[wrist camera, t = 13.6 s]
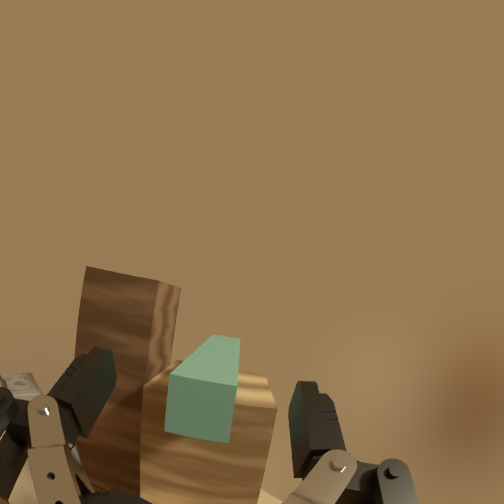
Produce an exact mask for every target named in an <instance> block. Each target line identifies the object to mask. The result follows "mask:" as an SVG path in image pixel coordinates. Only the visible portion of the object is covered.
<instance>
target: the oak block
mask: <svg viewBox="0 0 504 504" xmlns="http://www.w3.org/2000/svg"><path fill="white" fill-rule="evenodd" d="M182 362H183V361H180V360H176V361H175V362H174V363H172V364H171V365H170V366H168V367H167V368H166V369H164V370H163V371H162V372H161V373H159V374H158V375H157V376H155V377H154V378H153V379H151V380H150V381H149V382H147V383H146V384H145V385H144V387H143V400H142V416H141V438H140V497H141V498H143V499H145V500H147V501H149V502H151V503H153V504H257V501H258V497H259V493H260V489H261V484H262V480H263V476H264V471H265V467H266V462H267V458H268V453H269V448H270V443H271V438H272V433H273V428H274V423H275V418H276V413H277V407H276V404H275V401H274V398H273V395H272V393H271V390H270V387H269V385H268V382H267V379H266V376H265V374H259V373H251V372H244V371H238V385H237V392H236V399H235V405H234V412H233V418H232V425H231V431H230V438H229V443H222V442H215V441H209V440H204V439H198V438H193V437H188V436H183V435H179V434H174V433H170V432H166V431H164V428H165V416H166V404H167V394H168V384H169V375H170V373H171V372H172V371H173V370H174V369H176V368H177V367H178V366H179V365H180V364H181V363H182Z"/></svg>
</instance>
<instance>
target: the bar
mask: <svg viewBox="0 0 504 504" xmlns="http://www.w3.org/2000/svg"><path fill="white" fill-rule="evenodd" d="M239 351H240V339H238V338H232V337H225V336H219V335H212V336H211V337H210V338H209V339H208V340H207V341H206V342H205V343H203V344H202V345H201V346H200V347H199V348H198V349H197V350H196V351H195V352H193V353H192V354H191V355H190V356H189V357H188V358H187V359H186V360H185V361H183V362H182V363H181V364H180V365H179V366H178V367H177V368H176V369H174V370H173V371H172V372H171V373H170V375H169V384H168V394H167V404H166V416H165V428H164V431H166V432H170V433H174V434H179V435H183V436H188V437H193V438H198V439H204V440H209V441H215V442H222V443H229V438H230V431H231V425H232V418H233V412H234V405H235V399H236V392H237V385H238V367H239Z"/></svg>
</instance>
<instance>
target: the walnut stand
mask: <svg viewBox="0 0 504 504" xmlns="http://www.w3.org/2000/svg"><path fill="white" fill-rule="evenodd" d="M180 290H181V288H179V287H176V286H173V285H170V284H167V283H164V282H161V281H157V280H152V279H147V278H142V277H136V276H131V275H126V274H121V273H116V272H111V271H106V270H101V269H97V268H93V267H88V266H86V271H85V276H84V282H83V288H82V294H81V301H80V309H79V317H78V325H77V336H76V346H75V358H77V357H78V356H80V355H82V354H83V353H85V354H88V353H89V352H90V351H91V349H92V348H93V347H94V346H100V347H103V348H107V349H110V350H111V351H112V353H113V358H114V364H115V369H116V374H117V380H116V385H115V387H114V389H113V391H112V393H111V395H110V396H109V398H108V400H107V402H106V404H105V406H104V407H103V409H102V411H101V413H100V415H99V417H98V419H97V421H96V422H95V424H94V426H93V428H92V430H91V432H90V434H89V436H88V438H87V439H86V438H84V437H81V436H79V435H78V437H77V439H76V443H77V446H78V449H79V453H80V456H81V459H82V462H83V465H84V468H85V471H86V474H87V477H88V479H89V481H90V483H91V484H92V485H94V486H96V487H99V488H101V489H104V490H106V491H109V492H110V489H111V487H112V488H115V489H118V490H121V491H124V492H127V493H130V494H133V495H136V496H139V497H140V438H141V416H142V400H143V387H144V385H145V384H146V383H147V382H149V381H150V380H151V379H153V378H154V377H155V376H157V375H158V374H159V373H161V372H162V371H163V370H164V369H166V368H167V367H168V366H170V360H171V353H172V344H173V337H174V330H175V323H176V316H177V309H178V303H179V297H180Z"/></svg>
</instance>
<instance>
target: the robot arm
mask: <svg viewBox="0 0 504 504" xmlns="http://www.w3.org/2000/svg"><path fill="white" fill-rule="evenodd" d="M116 380H117V374H116V369H115V364H114V358H113V353H112V351H111V350H110V349H107V348H103V347H100V346H94V347H93V348H92V349H91V351H90V352H89V353H88V354H85V353H83V354H82V355H80V356H78V357H77V358H75V359H74V360H73V362H72V363H71V364H70V366H69V368H67V369H66V371H65V373H63V375H62V376H61V377H60V379H59V380H58V381H57V382H56V384H55V385H54V386H53V388H52V389H51V391H50V392H49V393H48V394H47V395H39V396H36V397H34V398H33V399H31V400H30V401H27V400H22V399H17V398H14V396H13V394H12V392H11V391H10V390H9V389H7V388H5V387H0V437H1V436H2V434H3V432H4V431H6V432H5V434H4V435H3V437H2V439H1V440H0V504H9V502H8V499H9V497H10V494H11V492H12V490H13V487H14V485H15V483H16V481H17V479H18V476H19V474H20V472H21V470H22V468H23V466H24V464H25V462H26V460H27V458H29V464H30V469H31V474H32V479H33V483H34V488H35V492H36V496H37V499H38V503H39V504H153V503H151V502H149V501H147V500H145V499H143V498H141V497H139V496H136V495H133V494H130V493H127V492H124V491H121V490H118V489H115V488H112V487H111V489H110V492H109V493H108V492H95V491H94V489H93V487H92V485H91V483H90V481H89V479H88V477H87V474H86V471H85V468H84V465H83V462H82V459H81V456H80V453H79V449H78V446H77V443H76V439H77V437H78V435H79V436H81V437H84V438H86V439H87V438H88V436H89V434H90V432H91V430H92V428H93V426H94V424H95V422H96V421H97V419H98V417H99V415H100V413H101V411H102V409H103V407H104V406H105V404H106V402H107V400H108V398H109V396H110V395H111V393H112V391H113V389H114V387H115V385H116ZM288 417H289V428H290V438H291V448H292V461H293V472H294V478H302V482H301V484H300V485H299V486H298V487H297V488H296V490H295V491H294V492H292V493H291V494H290V495H289V496H288V498H287V499H286V500H285V501H284V502H283V503H282V504H419V502H418V499H417V495H416V491H415V488H414V484H413V481H412V477H411V474H410V471H409V468H408V466H407V465H406V464H405V463H404V462H403V461H401V460H398V459H387V460H384V461H383V462H382V463H381V464H380V465H375V464H369V463H363V462H359V461H357V460H356V459H355V458H354V457H353V456H352V455H351V454H350V453H348V452H347V451H346V448H345V444H344V440H343V436H342V432H341V429H340V425H339V422H338V417H337V414H336V409H335V406H334V402H333V401H332V400H331V398H330V397H329V396H328V395H327V394H319V390H318V386H317V383H316V382H312V381H298V382H297V384H296V388H295V390H294V394H293V396H292V399H291V402H290V405H289V413H288Z"/></svg>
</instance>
